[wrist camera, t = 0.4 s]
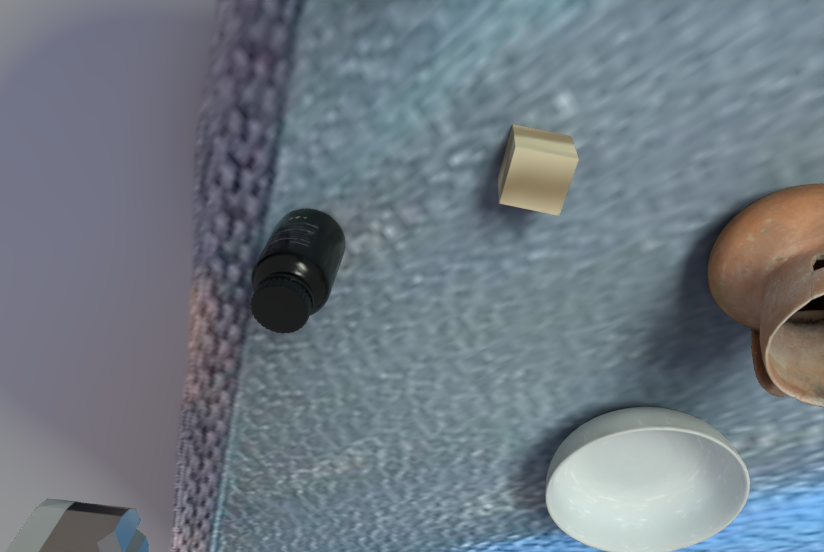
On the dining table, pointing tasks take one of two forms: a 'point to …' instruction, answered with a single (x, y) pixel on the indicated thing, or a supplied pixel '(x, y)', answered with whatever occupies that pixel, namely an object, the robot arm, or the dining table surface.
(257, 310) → the supplement bottle
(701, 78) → the dining table surface
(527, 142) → the oak cube
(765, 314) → the ceramic jug
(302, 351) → the dining table surface
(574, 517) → the serving bowl
